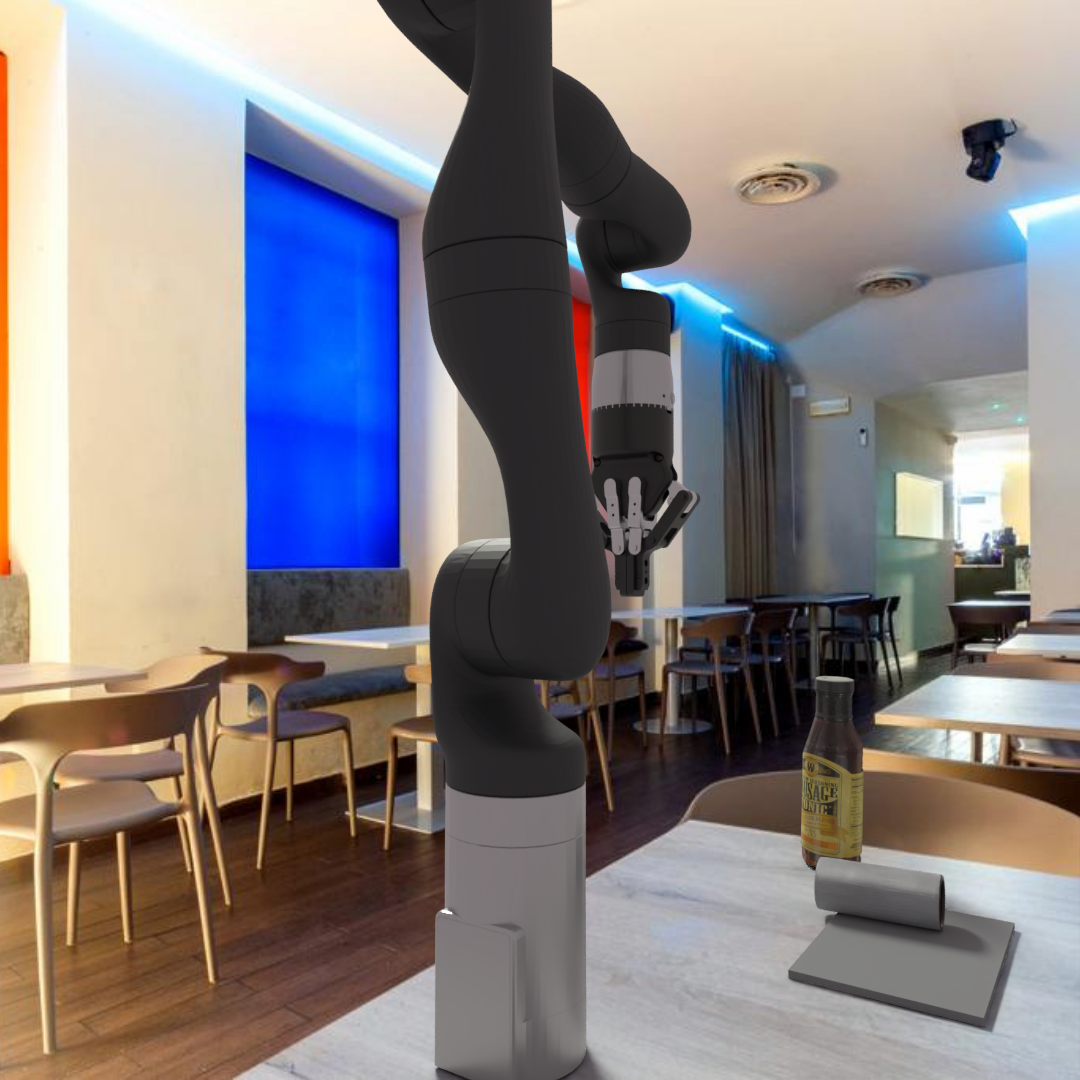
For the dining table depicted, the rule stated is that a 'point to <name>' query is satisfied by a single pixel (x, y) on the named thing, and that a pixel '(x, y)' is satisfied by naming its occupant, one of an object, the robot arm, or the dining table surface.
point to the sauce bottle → (832, 777)
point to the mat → (912, 963)
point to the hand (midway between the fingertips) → (632, 596)
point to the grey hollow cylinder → (880, 892)
